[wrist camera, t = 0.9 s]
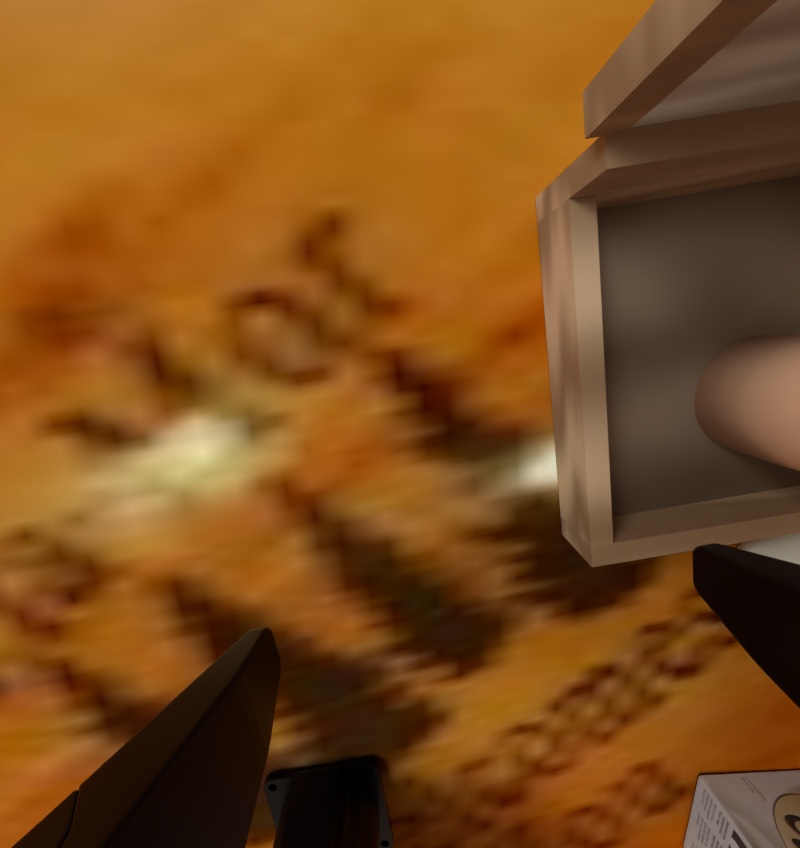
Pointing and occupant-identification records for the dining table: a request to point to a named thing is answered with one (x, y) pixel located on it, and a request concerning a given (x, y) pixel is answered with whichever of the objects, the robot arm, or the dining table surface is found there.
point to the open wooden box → (673, 276)
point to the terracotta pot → (754, 398)
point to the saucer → (776, 547)
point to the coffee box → (746, 811)
